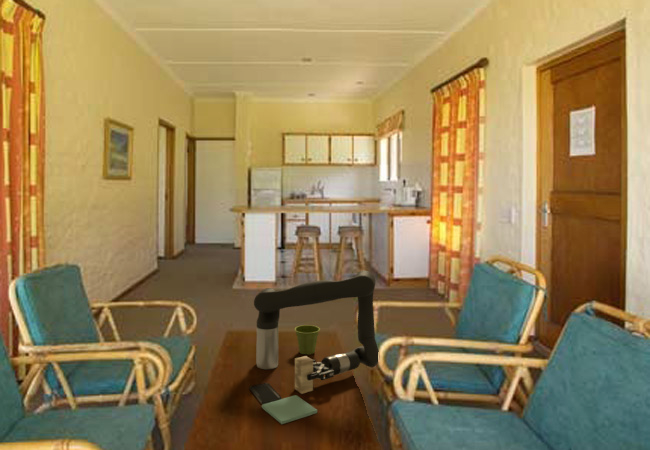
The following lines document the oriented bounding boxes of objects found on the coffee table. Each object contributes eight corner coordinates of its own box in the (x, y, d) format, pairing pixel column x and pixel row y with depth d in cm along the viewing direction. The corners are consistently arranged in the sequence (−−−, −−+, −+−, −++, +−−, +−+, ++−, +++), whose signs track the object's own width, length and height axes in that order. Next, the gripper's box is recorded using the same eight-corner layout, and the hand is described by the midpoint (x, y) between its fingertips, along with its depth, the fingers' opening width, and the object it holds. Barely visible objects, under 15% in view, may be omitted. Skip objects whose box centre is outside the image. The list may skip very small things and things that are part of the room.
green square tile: (261, 407, 165) (261, 404, 165) (295, 397, 173) (295, 394, 173) (281, 424, 154) (281, 421, 154) (317, 412, 162) (317, 410, 162)
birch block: (294, 388, 181) (294, 358, 179) (305, 385, 183) (305, 355, 182) (301, 393, 176) (301, 362, 175) (312, 390, 179) (313, 359, 178)
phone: (267, 382, 184) (282, 398, 171) (267, 385, 184) (282, 401, 171) (248, 386, 181) (261, 402, 167) (248, 389, 181) (261, 405, 168)
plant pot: (289, 353, 218) (289, 329, 217) (303, 346, 228) (303, 323, 227) (310, 358, 212) (310, 334, 211) (324, 351, 222) (324, 327, 221)
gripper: (325, 350, 194) (291, 358, 184) (346, 361, 182) (311, 370, 173) (325, 368, 194) (291, 377, 185) (346, 379, 183) (311, 390, 173)
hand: (301, 373), depth 179 cm, fingers open, 8 cm apart
